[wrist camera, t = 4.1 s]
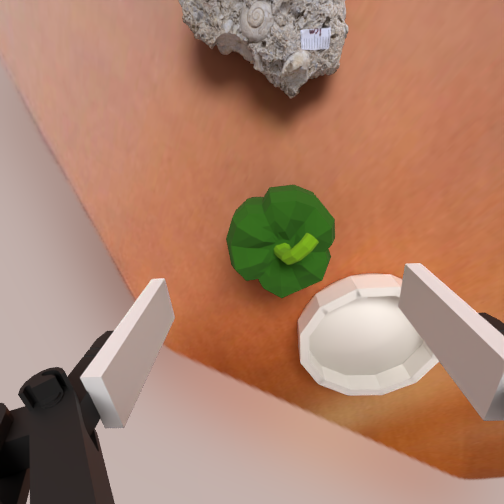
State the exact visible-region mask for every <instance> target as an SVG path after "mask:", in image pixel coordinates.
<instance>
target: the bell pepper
mask: <svg viewBox="0 0 504 504" xmlns="http://www.w3.org/2000/svg"><path fill="white" fill-rule="evenodd" d="M334 239H335V219H334V218H333V217H332V216H331V214H330V213H329V212H328V210H327V209H326V208H325V207H324V206H323V204H322V203H321V202H320V201H319V199H318V198H317V197H316V196H315V195H314V193H313V192H311V191H308V190H306V189H303V188H301V187H299V186H296V185H287V186H279V187H271V188H269V189H268V191H267V193H266V194H265V196H264V197H252V198H249V199H247V200H246V201H245V202H244V203H243V204H242V205H241V206H240V207H239V208H238V209H237V210H236V211H235V213H234V215H233V218H232V221H231V224H230V228H229V231H228V235H227V238H226V240H227V245H228V250H229V255H230V260H231V264H232V266H233V267H234V269H235V270H236V271H237V272H238V273H239V274H240V275H241V276H242V277H243V278H244V279H245V280H246V281H249V280H255V279H258V280H259V282H260V283H261V285H262V287H263V288H264V289H266V290H268V291H269V292H271V293H273V294H275V295H277V296H279V297H281V298H283V297H285V296H288V295H290V294H292V293H294V292H297V291H299V290H301V289H304V288H306V287H308V286H310V285H313V284H315V283H317V282H319V281H322V279H323V277H324V274H325V272H326V269H327V266H328V263H329V261H330V258H331V255H330V252H329V249H328V248H329V247H330V246H331V245H332V243H333V241H334Z"/></svg>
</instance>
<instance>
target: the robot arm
mask: <svg viewBox="0 0 504 504" xmlns="http://www.w3.org/2000/svg"><path fill="white" fill-rule="evenodd" d="M398 307H399V308H400V310H401V311H402V312H403V314H404V315H405V316H406V318H407V319H408V320H409V322H410V323H411V324H412V326H413V327H414V328H415V330H416V331H417V332H418V334H419V335H420V336H421V338H422V339H423V340H424V342H425V343H426V344H427V346H428V347H429V348H430V350H431V351H432V352H433V354H434V355H435V356H436V358H437V359H438V360H439V362H440V363H441V364H442V366H443V367H444V368H445V370H446V371H447V372H448V374H449V375H450V376H451V378H452V379H453V380H454V382H455V383H456V384H457V386H458V387H459V388H460V390H461V391H462V392H463V394H464V395H465V396H466V398H467V399H468V400H469V402H470V403H471V404H472V406H473V407H474V408H475V410H476V411H477V412H478V414H479V415H480V416H481V418H482V419H483V420H484V421H495V420H504V323H502V322H501V321H500V320H498V319H496V318H494V317H492V316H490V315H488V314H486V313H477V312H476V311H475V310H474V309H472V308H471V307H470V306H469V305H468V304H467V303H466V302H464V301H463V300H462V299H461V298H460V297H459V296H458V295H456V294H455V293H454V292H453V291H452V290H451V289H449V288H448V287H447V286H446V285H445V284H444V283H443V282H441V281H440V280H439V279H438V278H437V277H436V276H435V275H433V274H432V273H431V272H430V271H429V270H428V269H427V268H425V267H424V266H423V265H422V264H421V263H412V264H405V268H404V274H403V280H402V286H401V292H400V298H399V304H398ZM174 319H175V316H174V312H173V308H172V304H171V300H170V296H169V292H168V289H167V285H166V281H165V278H162V279H151V281H150V282H149V284H148V285H147V286H146V288H145V289H144V290H143V292H142V293H141V295H140V296H139V297H138V299H137V300H136V301H135V303H134V304H133V305H132V307H131V308H130V310H129V311H128V313H127V314H126V315H125V316H124V318H123V319H122V321H121V322H120V324H119V325H118V326H117V327H116V329H115V330H114V331H107V332H105V333H104V334H103V335H102V336H100V337H99V338H98V339H97V340H96V341H95V342H94V343H93V345H92V346H91V347H90V350H88V351H87V352H86V354H85V355H84V357H83V358H82V359H81V360H80V361H79V363H78V364H77V365H76V367H75V368H74V369H73V370H72V372H71V373H70V374H69V375H68V377H67V375H66V373H65V371H64V370H63V369H62V368H59V367H55V368H49V369H46V370H43V371H41V372H39V373H38V374H36V375H34V376H32V377H31V378H30V379H29V380H28V381H26V382H25V383H24V385H23V386H22V387H21V388H20V391H19V394H18V395H19V397H20V398H21V400H22V401H23V403H24V404H25V407H21V408H18V409H15V410H11V411H9V410H8V408H7V407H6V406H5V405H4V404H3V403H0V504H26V502H27V498H28V493H29V490H30V504H115V503H114V499H113V496H112V492H111V487H110V483H109V479H108V476H107V471H106V467H105V463H104V459H103V455H102V451H101V447H100V443H99V439H98V435H97V432H96V430H95V427H96V425H97V423H98V422H99V419H101V421H102V423H103V425H104V427H105V428H124V427H125V425H126V423H127V420H128V418H129V416H130V414H131V412H132V410H133V407H134V405H135V403H136V401H137V399H138V396H139V394H140V392H141V390H142V388H143V386H144V383H145V381H146V379H147V377H148V375H149V373H150V371H151V368H152V366H153V364H154V362H155V360H156V358H157V355H158V353H159V351H160V349H161V347H162V345H163V342H164V340H165V338H166V336H167V334H168V332H169V329H170V327H171V325H172V323H173V321H174Z"/></svg>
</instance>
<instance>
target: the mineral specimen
mask: <svg viewBox="0 0 504 504" xmlns="http://www.w3.org/2000/svg"><path fill="white" fill-rule="evenodd" d="M179 3H180V4H181V7H182V10H183V17H182V18H183V22H184V23H185V24H186V25H188V26H189V28H190V30H191V31H192V32H193V33H194V37H195V39H199V40H202V41H203V42H205V44H207V45H209V48H211V49H213V47H214V46H215V45H217V46H218V49H219V51H220V53H221V54H223V55H228V54H230V53H231V52H232V51H233V52H238V53H240V55H242V56H244V57H243V58H244V60H245V59H246V60H247V61H250V64H254V67H253V68H254V69H255V70H258V71H260V72H261V73H263V75H265V76H266V78H267V80H268V81H269V82H270V83H273V84H274V87H279V88H280V90H283V91H284V92H285V94H286V95H288V96H289V98H290V99H292V98H293V97H295V95H298V94H299V92H300V90H299V89H300V87H301V86H302V85H303V84H305V83H306V82H307V81H308V79H314V78H317V77H318V76H319V75H322V76H323V75H324V74H326V75H331V74H333V73H335V72H336V71H337V70H336V69H338V68H339V66H340V64H339V60H340V56H341V53H342V48H343V45H344V41H345V38H346V34H347V33H348V25H347V24H346V23H345V17H346V8H345V0H179Z"/></svg>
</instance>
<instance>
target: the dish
mask: <svg viewBox="0 0 504 504" xmlns="http://www.w3.org/2000/svg"><path fill="white" fill-rule="evenodd" d="M402 280H403V279H401V278H399V277H396V276H393V275H391V274H380V273H366V274H358V275H353V276H349V277H346V278H343V279H340V280H338V281H336V282H333V283H331V284H330V285H328V286H326V287H325V288H323V289H322V290H321V291H319V292H318V293H317V294H315V296H314V297H313V298H312V299H311V300H310V301H309V302H308V303H307V305H306V306H305V308H304V310H303V311H302V314H301V316H300V318H299V319H298V349H299V356H300V363H301V364H302V365H303V367H304V368H305V369H306V370H307V371H308V373H309V374H310V375H311V376H312V377H313V379H314V380H315V381H316V382H317V383H318V384H319V385H322V386H324V387H327V388H330V389H332V390H335V391H337V392H340V393H343V394H345V395H384V394H387V393H389V392H392V391H395V390H397V389H400V388H403V387H405V386H408V385H411V384H414V383H416V382H417V381H418V380H420V379H421V378H422V377H423V376H424V375H425V374H426V373H427V372H428V371H429V370H430V369H431V368H433V367H434V366H435V365H436V364H437V363H438V362H439V360H438V359H437V358H436V356H435V355H434V354H433V352H432V351H431V350H430V348H429V347H428V346H427V344H426V343H425V342H424V340H423V339H422V338H421V336H420V335H419V334H418V332H417V331H416V330H415V328H414V327H413V326H412V324H411V323H410V322H409V320H408V319H407V318H406V316H405V315H404V314H403V312H402V311H401V310H400V308H399V307H398V304H399V298H400V292H401V286H402Z"/></svg>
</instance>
